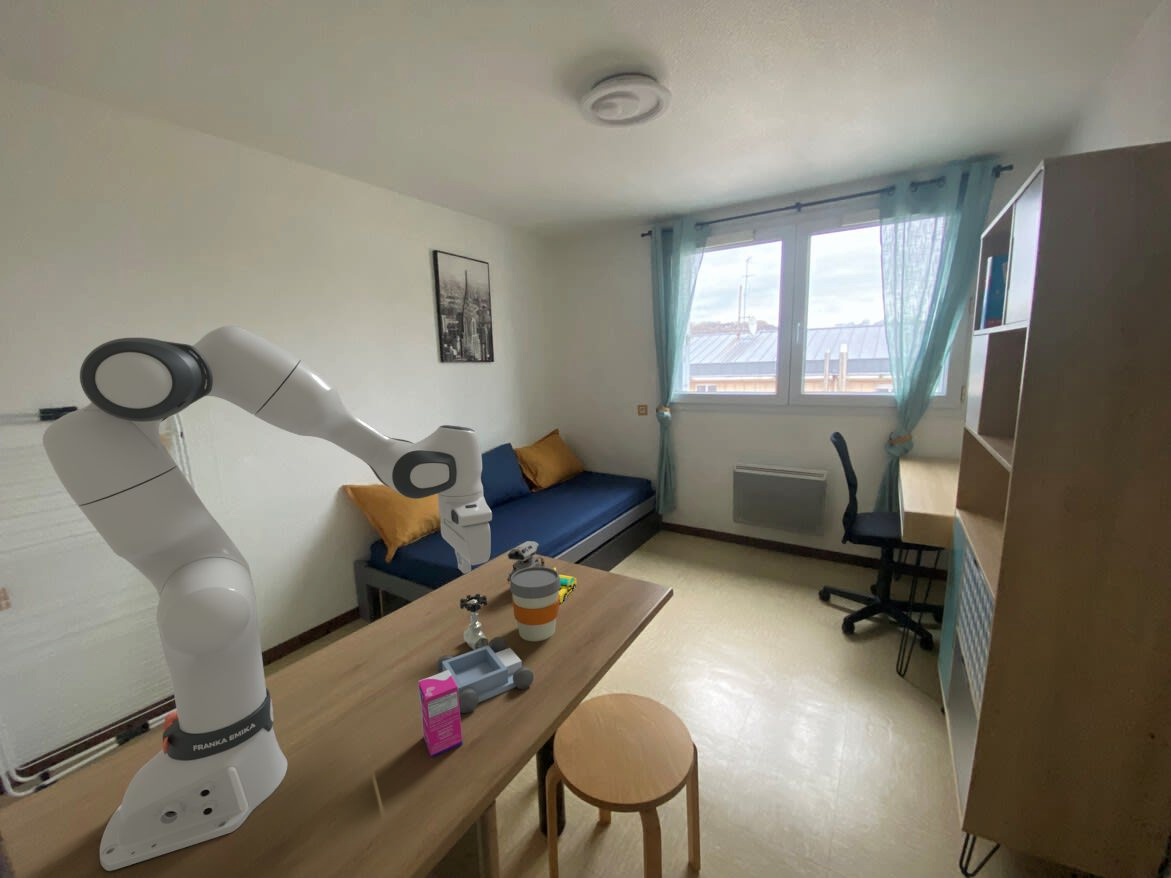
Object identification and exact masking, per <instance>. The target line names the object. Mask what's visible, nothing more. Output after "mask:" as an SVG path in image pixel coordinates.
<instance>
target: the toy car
mask: <svg viewBox="0 0 1171 878" xmlns="http://www.w3.org/2000/svg"><path fill="white" fill-rule="evenodd" d="M553 569H554V570H556V571H557V568H556V567H553ZM559 577H560V584H561V587H560V589H559V595H560V601H559V604H561V603H563V602H564V601H563V600H565V601H567V599H568V598H567V597H569V595H570V594H571V593H570V592H573V591H572V589H574V588H575V587H576V588H577V584H578V583H577V582H578V580H577V577H575V576H570V575H565V574H564V575H563V574H559ZM576 588H575V589H576ZM575 589H574V590H575ZM569 593H570V594H569ZM568 594H569V595H568Z"/></svg>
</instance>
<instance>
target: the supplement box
mask: <svg viewBox="0 0 1171 878" xmlns="http://www.w3.org/2000/svg"><path fill="white" fill-rule="evenodd" d="M417 685H418V686H417V687H418V697H419V707H420V709H419V710H420V719H421V726H422V728H421V729H422V737H423V739H424V743H425V744H426V747H427V749H428V752H429V755H430V758H434V757H436V756H438V755H441V754H443V753H445V752H447V751H449V750H452V749H454V748H456V747H458V746H462V745H463V744H464V743H463V732H462V731H463V730H462V721H461V720H462V719H461V711H460V707H459V695H458V686H457V684H456V682H455V680H454V678H453V677H452V675H451V673H450V671H449V670H446V671H444V672H441V673H437V674H434V675H432V676H429V677H426V678H423V679H420V680H418V681H417Z"/></svg>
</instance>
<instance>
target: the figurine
mask: <svg viewBox="0 0 1171 878" xmlns="http://www.w3.org/2000/svg"><path fill="white" fill-rule="evenodd" d="M539 546H540V545H539V543H538V542H537V541H534V540H527V541H525V542H522V543H520V542H518V543H517V546H516V547H514V548H512V549H511V550H510V551H509V552H508V553H507V555H506V556H507V558H508V560H511V561H515V562H514V563H513V564H512V571H511V572H509V573H508V577H507V579H506V580H507V583H510V582H511V576H512V575H513V574H514V573H515V572H517V571H518V570H521V569H524V568H528V567H546V564H545V560H544V558H542V557H541V556H539V557H535V555H536V553H537V549H538V548H539Z"/></svg>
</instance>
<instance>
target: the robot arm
mask: <svg viewBox="0 0 1171 878" xmlns="http://www.w3.org/2000/svg"><path fill="white" fill-rule="evenodd" d="M79 369H80V370H79V381H80V385H81V388H82V391H83V393H84V395H85V396H86V398H87V399H88V400H89V401H90V403H89V404H88V405H86V406H84V407H82V408H80V409H76V410H74V411H71V412H68V413H67V414H64V415H62V416H61V417H59V418H58V419H56V420H55V421H54V422H52V423H51V424H50V425H49V426H48V427H47V428H46V429H45V431H44V433H43V435H42V445H43V447H44V450H45V452H46V455H47V457H48V459H49V461H50V464H51V466H52V467H53V469H54V472H55V474H56V475H57V477H58V479H59V481H60V483H61V484H62V485H63V487H64V489H65V490H66V492H67V493H68V494H69V496H70V498H71V499H72V500H73V501H74V502H75V505H77V506H78V508H79V509H80V510H81V512H82V513H83V514H84V515H85V517H86V518H87V520H88V521H89V522H90V523H91V524H92V526H93V527H94V528H95V530H96V532H98V533H99V535H100V536H101V537H102V539H103V540H104V541H105V542H106V543H107V545H108V546H109V547H110V549H111V550H112V552H114V554H115V555H116V556H118V557H119V558H122V559H124V560H125V561H127V562H128V563H129V564H131V566H133V567H134V568H135V569H136V570H138V571H139V572H140V573H141V574H142V575H143V576H144V577H145V578H147V580H148V581H149V582H151V584H152V586H153V587H154V588H155V590H156V592H157V594H158V596H159V601H158V605H157V609H156V614H155V615H156V623H157V628H158V629H157V630H158V633H159V638H160V642H161V646H162V651H163V653H164V658H165V663H166V665H167V668H168V670H169V674H170V677H171V684H172V689H173V696H174V700H175V701H174V702H175V709H176V711H172V712H170V713H168V714H167V715H166V717H165V719H164V722H163V725H162V728H163V730H164V731H163V734H162V749H160V751H159V752H158V753H157V754H155V755H154V756H153V757H151V759H150V760H149V761H147V762H146V763H145V764H143V766H141V768H139V770H138V771H137V772H136V773H135V775H134V776H133V777H132V779H131V781H130V782H129V785H128V786H127V789H126V790H125V792H124V796H123V798H122V801H121V804H120V805H119V807H117V809H116V810H115V811H114V813H113V814H112V815H111V817H110V820H108V823H107V825H106V827H105V829H104V831H103V835H102V837H101V841H100V845H99V862H100V865H101V866H102V868H103V869H104V870H106V871H108V872H112V871H115V870H119V869H122V868H124V867H127V866H131V865H133V864H136V863H140V862H144V861H146V860H150V859H152V858H153V859H154V858H157V857H159V856H162V855H165V854H168V853H171V852H175V851H177V850H181V849H184V848H186V847H191V846H193V845H197V844H200V843H203V842H206V841H209V840H212V839H216V838H219V837H221V836H225V835H227V834H230V833H233V832H235V831H236V830H237V829H238V828H239V827H240V826H242V825H243V823H244V822H245V821H246V819H248V817H249V815H250V814H251V813H252V812H253V811H254V810H255V809H256V808H257V807H258V806H260V805H261V804H262V803H263V802H264V801H265V800H266V799H268V798H269V797H270V796H271V795H272V794H273V793H274V791H275V790H277V788H278V787H279V785H281V783H282V781H283V780H284V778H285V776H286V773H287V770H288V760H287V758H286V756H285V755H284V753H283V751H282V750H281V747H280V745H279V743H278V740H277V737H276V734H275V730H274V727H273V725H274V720H275V719H274V707H273V700H272V697H271V693H270V690H269V689H268V687H267V686H266V678H265V670H264V662H263V661H264V660H263V654H262V647H261V646H262V644H261V636H260V625H259V617H258V608H257V600H256V592H255V587H254V582H253V578H252V575H251V570H250V569H251V568H250V565H249V563H248V561H247V559H246V558H245V556H244V555H243V553H242V552H241V551H240V549H239V548H238V547H237V546H236V544H235V543H234V542H233V540H232V539H231V538H230V536H229V535H228V534H227V532H226V531H225V530H224V529H223V527H222V526H221V525H220V523H219V522H218V521H217V520H216V519H215V517H214V516H213V515H212V514H211V512H210V511H209V510H208V509H207V507H206V506H205V504H204V503H203V502H202V500H201V498H200V496H199V494H197V492H196V491H195V489H194V488H193V486H192V485H191V483H190V482H189V481H188V479H187V478H186V476H185V474H184V473H183V472H182V470H181V468H179V465H177V462H176V461H175V459H173V457H172V456H171V454H170V452H169V451H168V450H167V448H166V447H165V445H164V442H163V441H162V438H161V435H160V429H159V428H160V425H161V423H163V422H164V421H165V420H166V419H168V418H170V417H172V416H175V415H176V414H177V415H178V413H181V412H182V411H184V410H185V409H187V408H189V406H191V405H192V404H194V403H196V402H197V401H199V400H201V399H203V398H204V397H214V398H219V399H221V400H224V401H227V402H229V403H231V404H233V405H235V406H237V407H239V408H240V409H242V410H244V411H246V412H247V413H249V414H250V415H254V417H256V418H258V419H259V420H262V421H264V422H265V423H268V424H270V425H272V426H273V427H275V428H277V429H281V430H283V431H286V432H289V433H292V434H295V435H298V436H301V437H302V436H303V437H313V438H319V439H323V440H326V441H327V442H330V443H332V444H333V445H335V446H337V447H339V448H341V449H343V450H344V451H346V452H348V453H350V454H351V455H352V456H355V457H356V458H357V459H360V460H361V461H362V462H364V463H365V464H366V465H368V466H369V468H370V469H371V471H372V472H373V474H374V475H375V477H376V478H377V479H378V480H379V482H381V483H382V484H383V485H384V486H386V487H388V488H391V490H394V491H395V492H397V493H398V494H400V495H402V496H403V497H405V498H410V499H415V500H416V499H423V498H427V497H428V498H429V497H431V496H433V495H436V494H437V502H438V503H437V504H438V516H439V517H440V534H441V537H442V538H443V540H444V541H446V542H447V543H448V544H449V545H450V546H451V547H452V548H453V549H454V554H455V557H456V560H457V568H458V569H459V571H460V572H462V574H469V573H471V571H472V566H476V565H481V564H484V563H488V562H489V560H490V556H491V547H492V546H491V540H492V538H491V534H492V533H491V527H490V523H489V522H492V520H493V512H492V510H491V508H490V507H489V505H488V504H487V501H486V499H485V496H484V485H483V483H482V478H481V477H482V472H483V459H482V458H483V457H482V447H481V441H480V438H479V435H478V433H477V431H475V430H474V429H472V428H470V427H467V426H466V427H465V426H460V425H449V424H448V425H447V424H443V425H440V426H438V428H436V430H435V431H433V432H432V433H431V434H429V435H428V436H427V437H425V438H423V439H421V440H420V441H417V442H415V443H414V442H412V441H410V440H405V439H402V438H401V439H400V438H396V437H395V438H393V437H390V436H387V435H385V434H383V433H381V432H380V431H379V430H377V429H375V428H374V427H373V426H371V425H369V424H368V423H366V422H365V421H363V420H362V419H361V418H359V417H357V416H356V415H355V414H353V413H352V412H351V411H350V410H349V409H348V408H347V407H346V406H345V404H344V403H343V401H342V398H341V397H340V395H339V392H338V390H337V388H336V387H335V386H334V385H333V384H332V383H331V382H330V381H329V380H328V379H327V378H326V377H324V375H322V374H321V373H320V372H318V370H316V369H315V368H313V366H311V365H309V364H308V363H307V362H305V361H304V360H302V359H301V358H300V357H297V356H295V355H294V354H293V353H291V352H290V351H288V350H286V349H284V348H283V347H281V346H279V345H277V344H276V343H274V342H272V341H270V340H268V339H267V338H264V337H262V336H260V335H258V334H256V333H254V332H251V331H249V330H247V329H245V328H243V327H240V326H236V325H225V326H221V327H217V328H216V329H213V330H211V331H209V332H207V333H206V334H205V335H204V336H202V337H201V338H200V340H198V342H196V343H194V344H193V345H190V344H187V343H181V342H173V341H165V340H160V339H156V338H151V337H121V338H116V339H113V340H109V341H106V342H104V343H102V344H100V345H98V346H97V347H95V348H94V349H93V350H91V351H90V352H89V353H88V354H87V356H86V357H85V358H84V360H83V361H82V364H81V366H80V368H79Z"/></svg>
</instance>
